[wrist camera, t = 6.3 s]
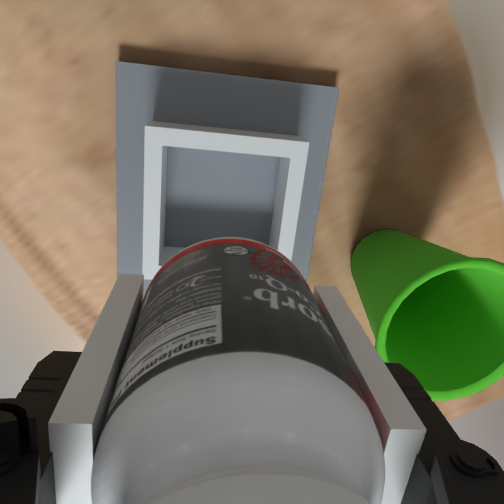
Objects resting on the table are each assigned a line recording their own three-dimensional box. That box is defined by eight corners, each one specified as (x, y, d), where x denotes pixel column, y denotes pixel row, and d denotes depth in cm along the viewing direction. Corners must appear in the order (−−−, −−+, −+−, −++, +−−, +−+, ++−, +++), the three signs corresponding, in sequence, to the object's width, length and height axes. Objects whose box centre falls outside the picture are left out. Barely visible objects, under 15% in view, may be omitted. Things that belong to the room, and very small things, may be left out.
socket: (119, 61, 26) (102, 57, 22) (334, 87, 28) (356, 87, 24) (120, 290, 32) (106, 321, 28) (299, 300, 34) (312, 330, 30)
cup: (413, 181, 31) (513, 227, 21) (451, 276, 34) (554, 357, 24) (305, 240, 32) (350, 312, 22) (352, 327, 35) (411, 425, 25)
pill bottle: (339, 316, 15) (540, 671, 6) (216, 402, 16) (227, 826, 7) (241, 195, 13) (316, 444, 4) (107, 300, 14) (-84, 702, 5)
